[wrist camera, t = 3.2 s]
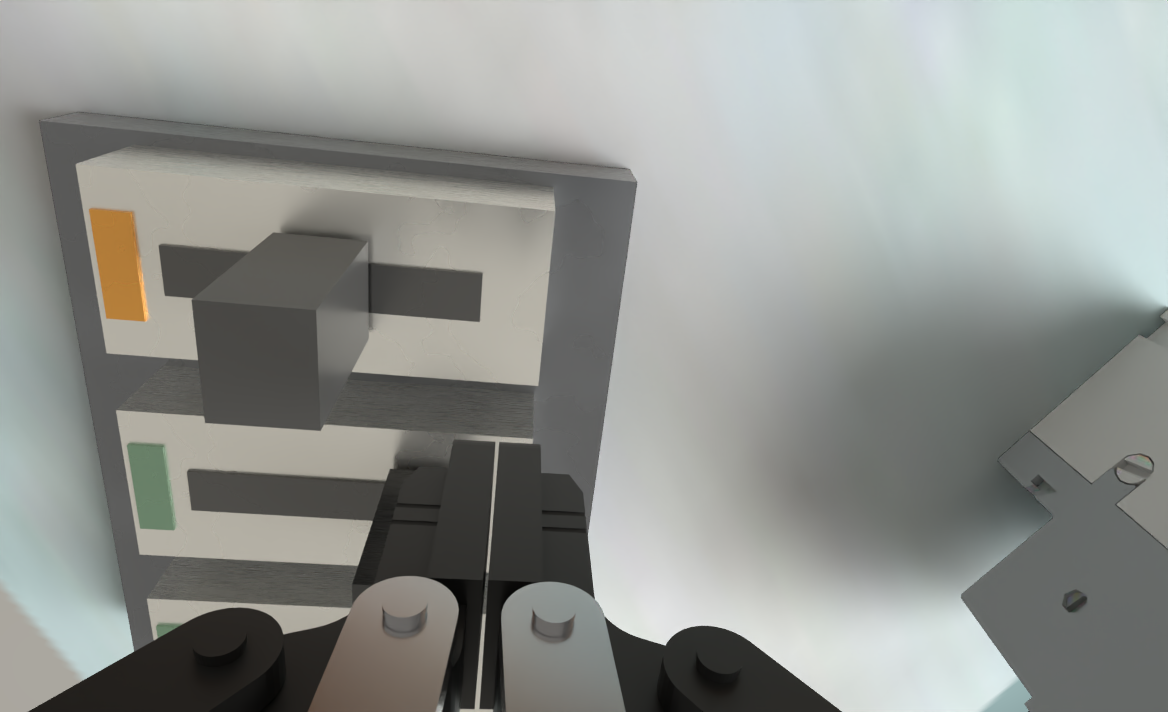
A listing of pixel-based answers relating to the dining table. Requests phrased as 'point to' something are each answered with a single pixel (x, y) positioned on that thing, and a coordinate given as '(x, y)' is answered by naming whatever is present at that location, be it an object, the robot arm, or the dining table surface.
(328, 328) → the block
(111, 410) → the breaker panel
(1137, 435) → the circuit breaker
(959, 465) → the dining table surface
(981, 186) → the dining table surface
